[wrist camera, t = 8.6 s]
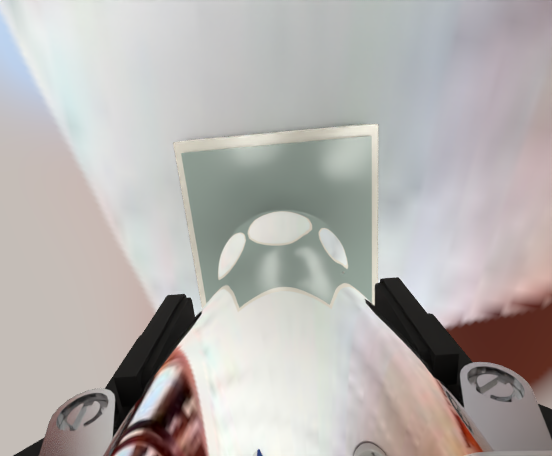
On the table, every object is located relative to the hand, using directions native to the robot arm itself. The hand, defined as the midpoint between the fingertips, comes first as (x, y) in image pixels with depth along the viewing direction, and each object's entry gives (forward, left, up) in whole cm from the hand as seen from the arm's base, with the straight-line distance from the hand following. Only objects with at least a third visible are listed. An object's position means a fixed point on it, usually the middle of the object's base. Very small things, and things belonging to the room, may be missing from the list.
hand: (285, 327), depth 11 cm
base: (0, 0, -13) cm, 13 cm away
